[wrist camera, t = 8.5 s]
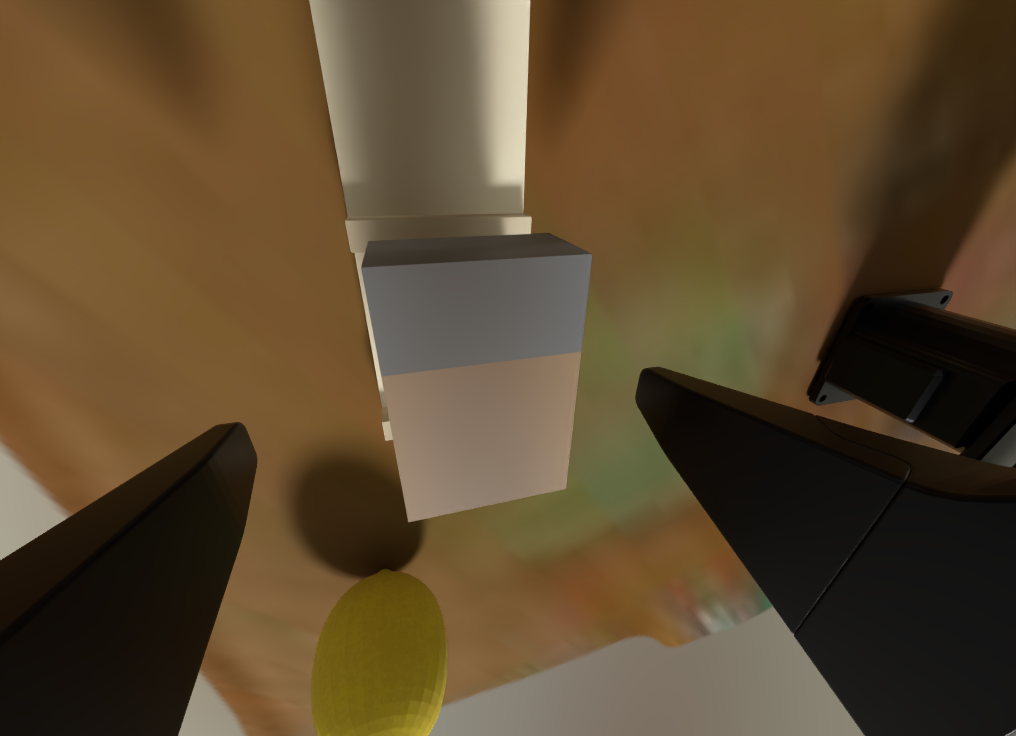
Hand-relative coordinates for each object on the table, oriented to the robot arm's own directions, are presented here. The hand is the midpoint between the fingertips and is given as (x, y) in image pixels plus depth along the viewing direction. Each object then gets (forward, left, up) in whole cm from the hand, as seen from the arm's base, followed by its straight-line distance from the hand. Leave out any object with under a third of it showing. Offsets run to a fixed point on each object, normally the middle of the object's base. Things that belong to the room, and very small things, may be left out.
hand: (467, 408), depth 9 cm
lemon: (+4, +14, -6) cm, 16 cm away
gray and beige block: (0, 0, -5) cm, 5 cm away
